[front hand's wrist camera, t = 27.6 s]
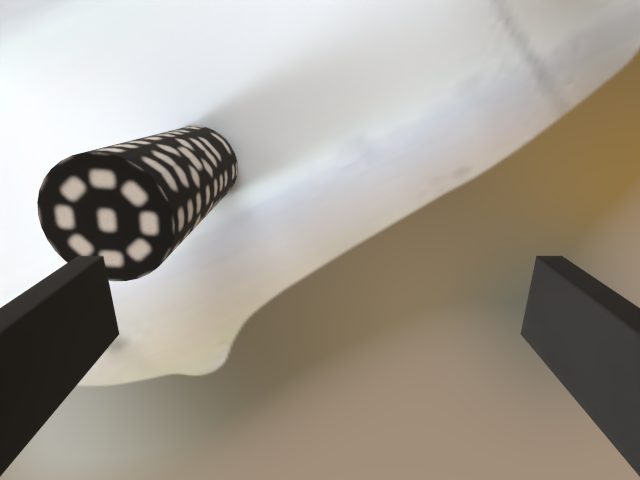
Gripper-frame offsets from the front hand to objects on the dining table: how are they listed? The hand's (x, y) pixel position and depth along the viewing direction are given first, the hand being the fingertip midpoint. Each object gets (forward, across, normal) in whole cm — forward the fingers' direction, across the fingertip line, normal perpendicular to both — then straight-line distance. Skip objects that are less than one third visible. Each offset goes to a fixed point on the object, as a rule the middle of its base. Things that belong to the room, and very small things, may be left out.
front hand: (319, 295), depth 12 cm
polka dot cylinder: (+22, -13, -2) cm, 26 cm away
